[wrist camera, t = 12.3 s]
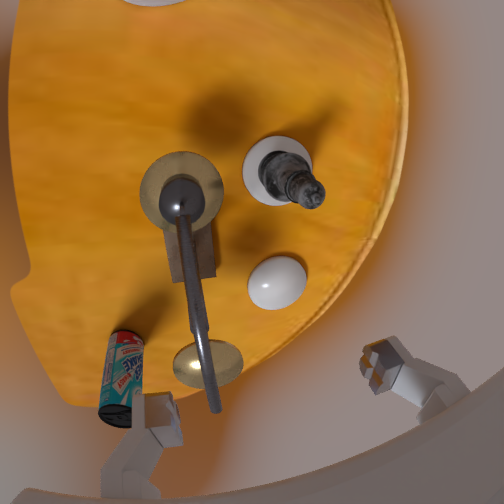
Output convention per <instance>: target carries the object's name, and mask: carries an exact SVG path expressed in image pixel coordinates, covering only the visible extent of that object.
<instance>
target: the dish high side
mask: <svg viewBox="0 0 504 504" xmlns="http://www.w3.org/2000/svg"><path fill="white" fill-rule="evenodd" d="M305 286H306V273H305V270H304V269H303V267H302V266H301V265H300V263H299V262H298V261H297V260H295V259H293V258H291V257H288V256H275V257H271V258H268V259H266V260H264V261H262V262H261V263H260V264H258V265H257V266H256V267H255V268H254V269H253V271H252V272H251V274H250V276H249V279H248V283H247V288H248V293H249V295H250V298H251V300H252V301H253V302H254V303H255V304H256V305H257V306H259V307H261V308H263V309H268V310H276V309H281V308H284V307H286V306H288V305H290V304H292V303H293V302H295V301H296V300H297V299H298V298H299V297H300V295H301V294H302V293H303V291H304V289H305Z"/></svg>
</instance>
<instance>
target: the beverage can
mask: <svg viewBox="0 0 504 504" xmlns="http://www.w3.org/2000/svg"><path fill="white" fill-rule="evenodd" d="M143 349H144V345H143V342H142V339H141V338H140V337H139V336H138V335H137V334H136V333H134V332H132V331H128V330H119V331H116V332H114V333H113V334H112V335H111V337H110V338H109V341H108V348H107V353H106V359H105V365H104V371H103V378H102V385H101V393H100V402H99V411H98V415H99V417H100V419H101V420H102V421H104V422H105V423H107V424H109V425H111V426H114V427H118V428H132V398H133V395H136V394H142V376H143Z"/></svg>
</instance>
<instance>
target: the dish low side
mask: <svg viewBox="0 0 504 504" xmlns="http://www.w3.org/2000/svg"><path fill="white" fill-rule="evenodd" d="M278 150H281V151H286V152H288V153H295V154H298V155H300V156H302V157H303V158H304V159H305V160H306V161H307V162H308V164H309V166H310V169H311V173H312V162H311V159H310V156H309V154H308V152H307V150H306V149H305V148H304V147H303V146H302V145H301V144H300V143H299V142H297V141H296V140H294V139H291V138H288V137H285V136H270V137H266V138H264V139H262V140H260V141H258V142H257V143H255V144H254V145H253V146H252V147H251V148H250V150H249V151H248V153H247V154H246V156H245V158H244V161H243V166H242V177H243V181H244V184H245V186H246V188H247V190H248V191H249V192H250V193H251V195H252V196H253V197H254V198H255V199H257V200H258V201H260V202H262V203H264V204H267V205H273V206H279V205H285V204H288V203H290V202H291V201H290V202H281V201H278V200H275V199H273V198H272V197H271V196H270V195H269V194H268V193H267V191H266V190H265V187H264V186H263V185H262V183H261V182H260V180H259V177H258V167H259V164H260V162H261V160H262V159H263V158H264V156H266V155H267V154H268V153H270V152H273V151H278Z"/></svg>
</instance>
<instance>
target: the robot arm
mask: <svg viewBox="0 0 504 504" xmlns="http://www.w3.org/2000/svg"><path fill="white" fill-rule="evenodd" d="M124 1H126V2H129V3H132V4H136V5H141V6H164V5H170V4H174V3H178V2H182V1H184V0H124ZM363 353H364V355H363V356H362V357H361V358H360V362H359V365H360V370H361V373H362V375H363V376H364V378H367V379H369V386H370V387H371V389H372V391H373V392H374V394H375V395H378V394H380V393H383V392H385V391H388V390H390V389H391V390H392V391H393V392H395V393H397V394H398V395H400V396H402V397H404V398H405V399H407V400H409V401H410V402H412V403H414V404H416V405H417V406H419V407H421V408H422V409H421V410H420V412H419V413H418V415H417V417H416V418H417V420H418V422H419V423H420V425H418V426H417V427H415V428H413V429H411V430H409V431H407V432H406V433H403V434H402V435H400V436H398V437H396V438H394V439H392V440H389V441H388V442H385V443H383V444H381V445H379V446H377V447H375V448H372V449H370V450H368V451H365V452H363V453H361V454H359V455H356V456H353V457H351V458H348V459H346V460H343V461H341V462H338V463H335V464H333V465H330V466H327V467H324V468H321V469H318V470H315V471H312V472H309V473H306V474H302V475H299V476H296V477H292V478H288V479H285V480H281V481H277V482H273V483H269V484H265V485H260V486H256V487H251V488H246V489H241V490H235V491H230V492H224V493H217V494H209V495H201V496H193V497H181V498H168V499H167V498H166V499H161V495H160V490H159V489H157V488H156V487H155V486H154V485H153V484H151V483H150V482H149V481H148V479H149V478H150V475H151V474H152V472H153V470H154V468H155V466H156V464H157V462H158V459H159V457H160V455H161V453H162V451H163V448H167V447H175V446H182V445H183V438H182V431H181V429H180V428H179V424H180V423H181V421H180V415H179V410H178V407H177V404H176V402H175V401H173V395H172V393H171V391H168V392H158V393H147V394H136V395H133V398H132V429H131V430H128V431H127V432H126V434H125V435H124V437H123V438H122V440H121V441H120V443H119V444H118V445H117V447H116V448H115V450H114V451H113V453H112V454H111V455H110V457H109V458H108V460H107V461H106V463H105V464H104V466H103V467H102V469H101V498H96V497H84V496H76V495H68V494H61V493H55V492H49V491H44V490H39V489H35V488H26V489H24V490H23V491H22V492H21V493H20V494H19V495H18V496H17V497H16V498H15V499H14V500H13V501H12V503H10V504H504V367H503V368H502V369H501V370H500V371H498V372H497V373H496V374H495V375H493V376H492V377H491V378H490V379H489V380H487V381H486V382H484V383H483V384H482V385H480V386H479V387H478V388H476V389H475V390H474V391H472V392H470V390H469V389H468V388H467V387H466V385H465V384H464V383H463V382H462V380H461V379H460V378H459V377H458V375H457V374H455V373H452V372H449V371H447V370H444V369H442V368H440V367H437V366H434V365H433V364H430V363H428V362H425V361H423V360H421V359H418V358H415V359H414V358H413V357H412V355H411V354H410V353H409V352H408V351H407V349H406V348H405V347H404V346H403V344H402V343H401V342H400V341H399V339H398V338H397V337H396V336H391V337H388V338H386V339H382V340H379V341H376V342H374V343H371V344H368V345H366V346H365V347H364V348H363Z"/></svg>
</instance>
